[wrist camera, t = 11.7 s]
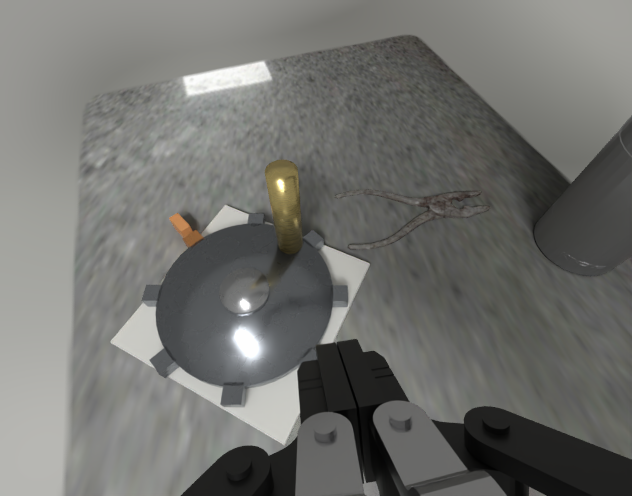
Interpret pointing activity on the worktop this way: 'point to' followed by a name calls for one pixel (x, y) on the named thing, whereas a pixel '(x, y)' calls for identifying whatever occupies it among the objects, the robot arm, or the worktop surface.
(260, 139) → the worktop surface
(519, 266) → the worktop surface
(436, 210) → the pliers
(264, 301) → the sprocket
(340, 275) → the base plate
